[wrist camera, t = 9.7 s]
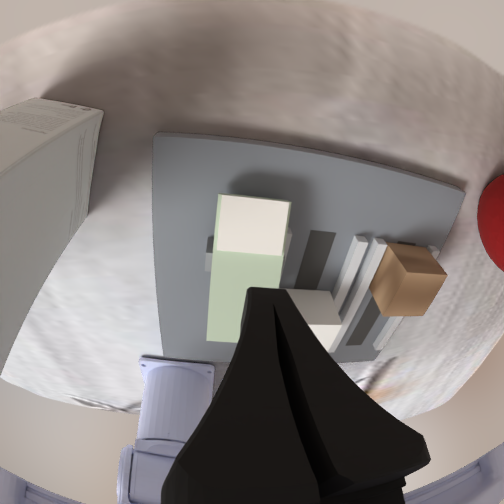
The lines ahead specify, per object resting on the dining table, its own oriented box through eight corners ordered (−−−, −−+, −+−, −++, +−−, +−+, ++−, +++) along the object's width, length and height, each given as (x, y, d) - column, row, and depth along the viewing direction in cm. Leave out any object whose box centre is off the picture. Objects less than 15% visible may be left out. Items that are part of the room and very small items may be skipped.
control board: (370, 352, 30) (378, 372, 27) (165, 347, 27) (161, 371, 25) (457, 186, 19) (478, 203, 16) (158, 131, 16) (145, 143, 13)
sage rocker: (266, 336, 19) (269, 346, 18) (206, 332, 19) (206, 343, 18) (287, 200, 17) (292, 202, 16) (218, 192, 16) (218, 194, 15)
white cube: (315, 325, 24) (324, 358, 21) (269, 324, 24) (273, 358, 21) (329, 290, 22) (342, 324, 19) (279, 288, 21) (286, 324, 19)
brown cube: (405, 286, 22) (423, 315, 20) (367, 284, 22) (383, 316, 19) (425, 247, 20) (447, 275, 17) (386, 242, 20) (407, 272, 17)
